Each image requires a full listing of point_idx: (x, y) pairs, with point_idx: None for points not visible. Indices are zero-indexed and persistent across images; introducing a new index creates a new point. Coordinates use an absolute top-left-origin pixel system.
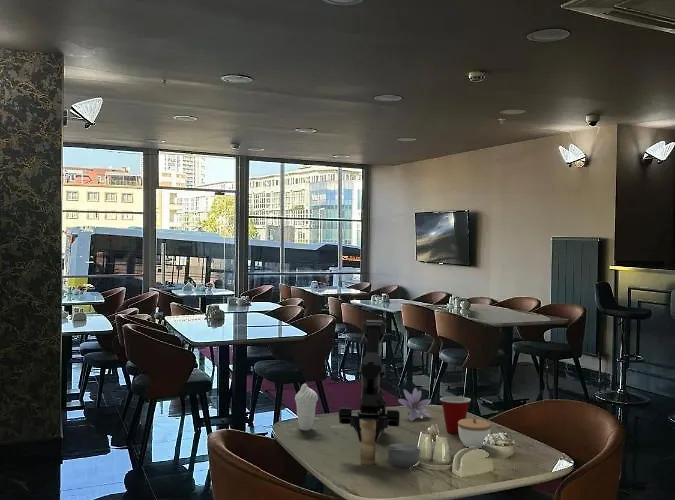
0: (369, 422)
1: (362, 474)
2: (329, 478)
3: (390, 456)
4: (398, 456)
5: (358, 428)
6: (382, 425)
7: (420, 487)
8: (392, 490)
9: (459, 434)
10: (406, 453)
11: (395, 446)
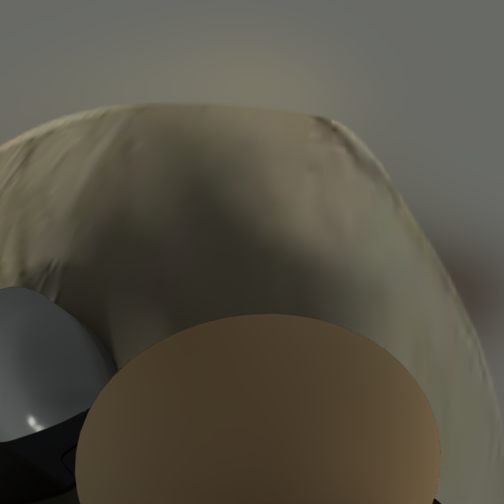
0: (266, 409)
1: (290, 250)
2: (412, 226)
3: (98, 361)
4: (63, 311)
5: None
6: (15, 439)
7: (111, 135)
8: (205, 121)
9: None
10: (20, 296)
11: None
